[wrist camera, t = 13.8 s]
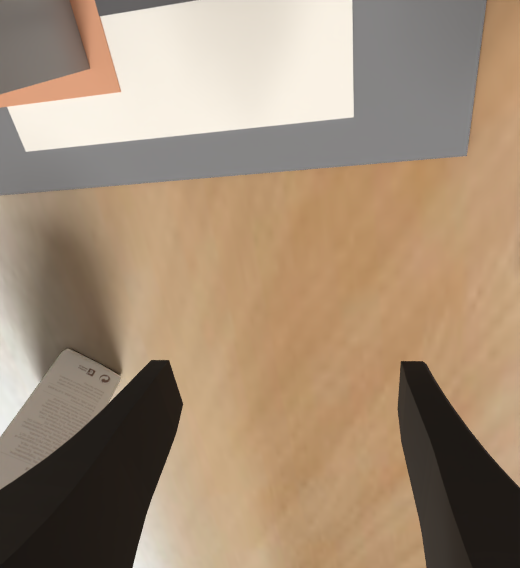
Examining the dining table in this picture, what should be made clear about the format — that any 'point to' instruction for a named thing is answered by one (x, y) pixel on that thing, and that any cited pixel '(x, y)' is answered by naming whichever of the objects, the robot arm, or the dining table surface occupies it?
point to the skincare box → (55, 412)
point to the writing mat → (245, 91)
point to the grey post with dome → (38, 43)
